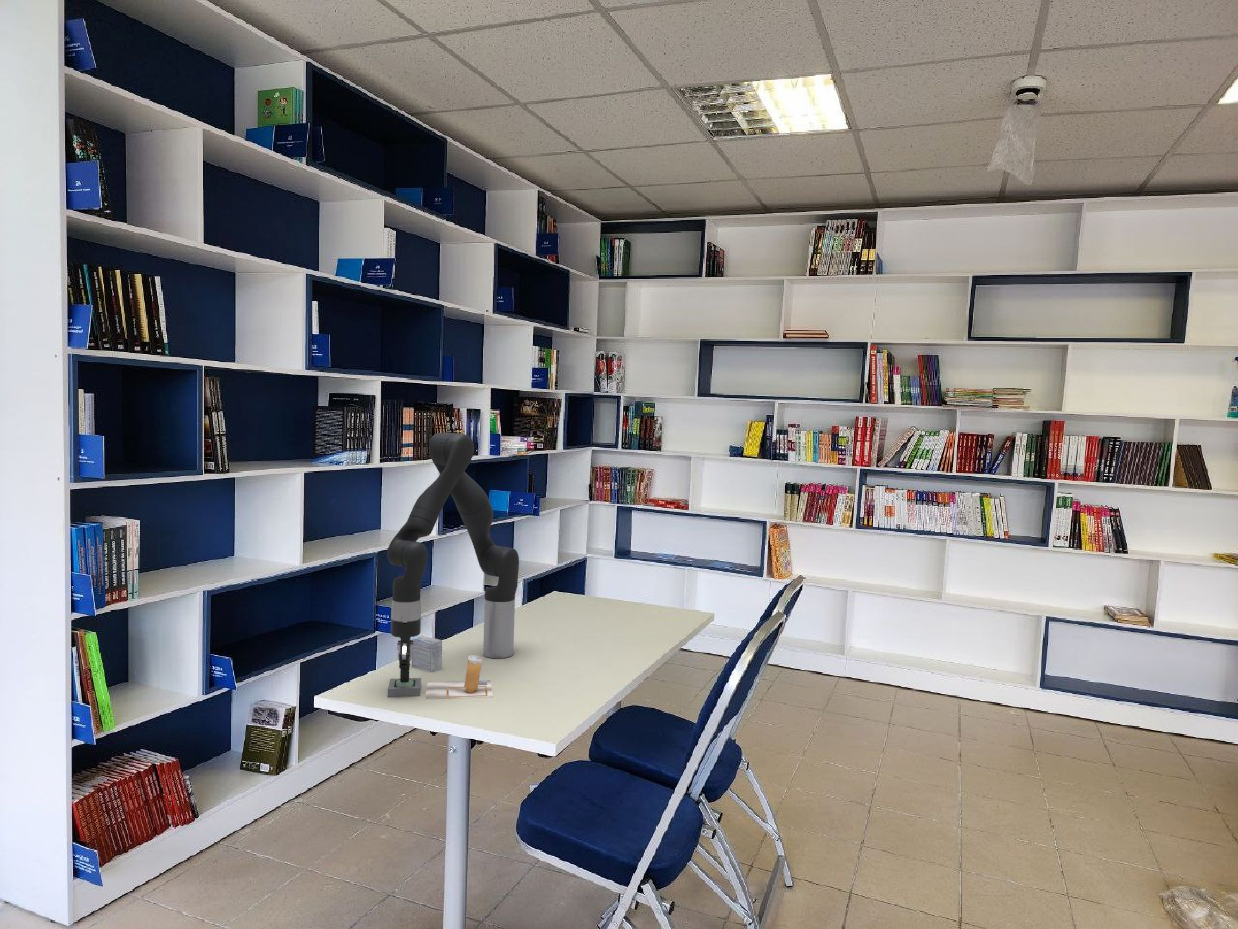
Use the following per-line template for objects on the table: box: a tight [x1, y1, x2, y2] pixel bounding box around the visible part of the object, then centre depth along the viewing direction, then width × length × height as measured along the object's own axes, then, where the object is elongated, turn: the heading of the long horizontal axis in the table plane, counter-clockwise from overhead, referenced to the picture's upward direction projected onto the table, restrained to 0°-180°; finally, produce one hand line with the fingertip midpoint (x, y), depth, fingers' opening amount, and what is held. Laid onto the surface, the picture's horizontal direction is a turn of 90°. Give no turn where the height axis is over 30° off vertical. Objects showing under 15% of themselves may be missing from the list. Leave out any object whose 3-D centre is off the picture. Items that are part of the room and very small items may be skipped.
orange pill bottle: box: [464, 654, 483, 693], centre depth 212 cm, size 4×4×9 cm
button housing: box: [387, 677, 422, 698], centre depth 210 cm, size 8×8×2 cm
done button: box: [396, 679, 414, 687], centre depth 210 cm, size 4×4×2 cm
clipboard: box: [425, 679, 494, 700], centre depth 213 cm, size 14×19×1 cm
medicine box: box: [411, 635, 443, 673], centre depth 230 cm, size 8×4×9 cm, turn 60°
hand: (404, 681), depth 210 cm, fingers closed
